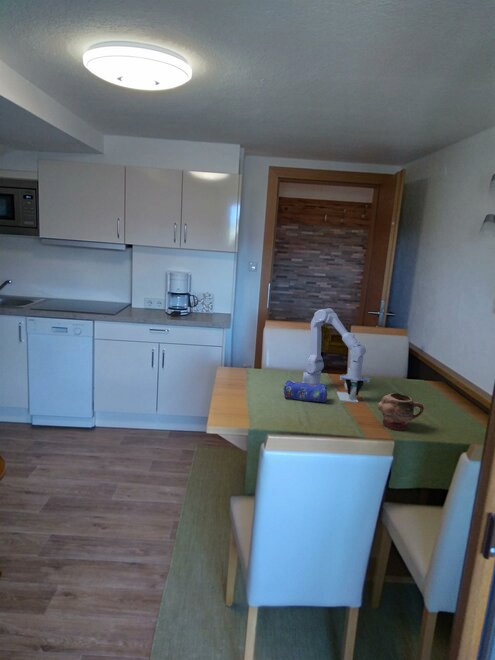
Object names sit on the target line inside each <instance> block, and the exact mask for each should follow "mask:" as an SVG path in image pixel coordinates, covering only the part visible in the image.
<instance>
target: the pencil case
mask: <svg viewBox="0 0 495 660" xmlns="http://www.w3.org/2000/svg"><path fill="white" fill-rule="evenodd" d="M327 389H328V388H327V385H326V384H324V383H320V384H307V383H302V382H298V381H294V380H292V379H289V380H287V381H286V382H285V385H283V386H282V390H283V394H284V395H283V396H284V398H286V399H288V398H290V399H291V400H297V401H298V400H299V401H303V400H304V401H305V402H319V403H326V401H327V398H328V391H327ZM290 399H289V400H290Z"/></svg>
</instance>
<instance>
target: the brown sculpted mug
mask: <svg viewBox="0 0 495 660" xmlns="http://www.w3.org/2000/svg"><path fill="white" fill-rule="evenodd" d="M376 405H377V409H378V411H380V412H381V414H382V416H383V419H382V424H383V426H385V428H386V429H389V430H392V431H399V430H402V431H405V430H406V429H407V428H408V427H407V426H408V422H410V421H413V420H415V419H416V418H418V417H420V416H421V415H422V414H423V413H424V410H425V406H424V405H423V404H422V403H421V402H419V401H413V399H412V398H411V397H410V396H408V395H406V394H401V393H399V392H393V393H389V394H386V395H384V396H382V398H381V401H379V402H378V403H377V404H376ZM416 407H417V408H419V409H420V411H419V412H418V413H417V414H415V413H414V411H415V410H414V409H415V408H416Z"/></svg>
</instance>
